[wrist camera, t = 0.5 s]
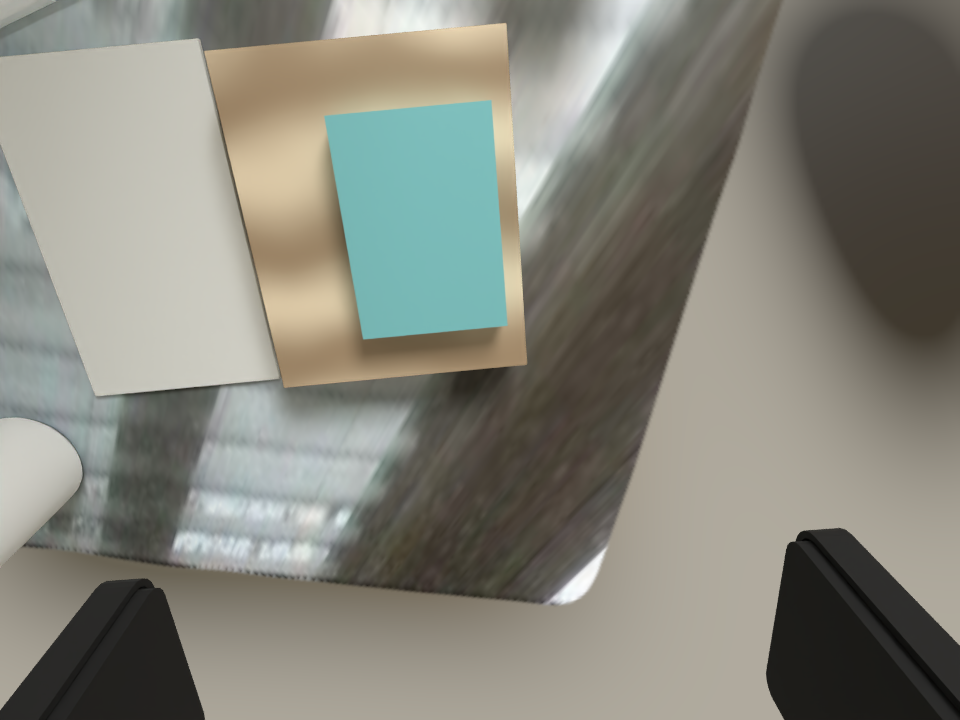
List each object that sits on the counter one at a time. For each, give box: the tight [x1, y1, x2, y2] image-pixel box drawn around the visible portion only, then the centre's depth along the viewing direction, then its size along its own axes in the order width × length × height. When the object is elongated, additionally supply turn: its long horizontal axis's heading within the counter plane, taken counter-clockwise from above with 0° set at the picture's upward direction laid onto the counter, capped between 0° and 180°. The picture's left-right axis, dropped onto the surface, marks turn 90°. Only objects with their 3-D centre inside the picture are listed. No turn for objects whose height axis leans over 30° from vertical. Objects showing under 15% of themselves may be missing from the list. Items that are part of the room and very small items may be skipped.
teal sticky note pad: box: [324, 100, 508, 340], centre depth 27 cm, size 10×7×2 cm
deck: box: [204, 23, 527, 388], centre depth 30 cm, size 16×13×4 cm
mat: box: [0, 39, 281, 396], centre depth 32 cm, size 18×11×1 cm, turn 5°
